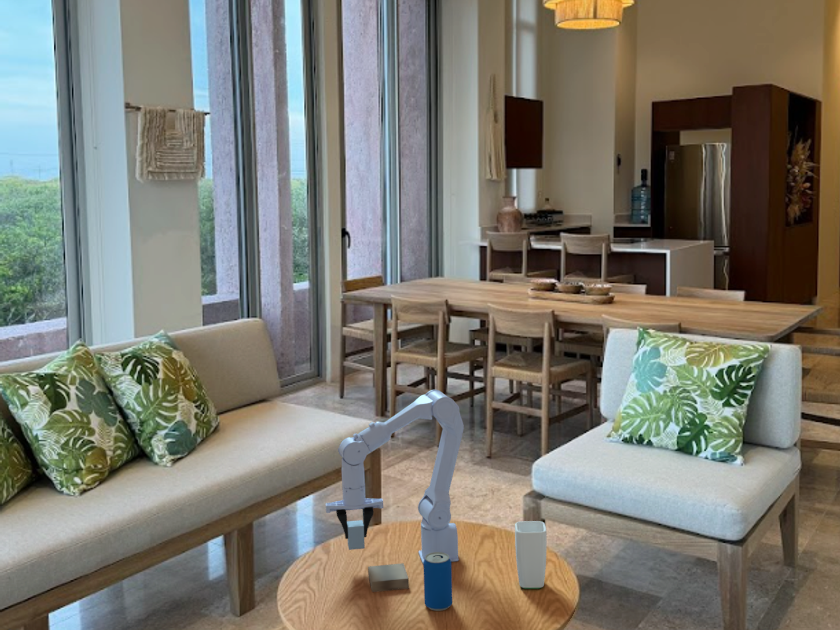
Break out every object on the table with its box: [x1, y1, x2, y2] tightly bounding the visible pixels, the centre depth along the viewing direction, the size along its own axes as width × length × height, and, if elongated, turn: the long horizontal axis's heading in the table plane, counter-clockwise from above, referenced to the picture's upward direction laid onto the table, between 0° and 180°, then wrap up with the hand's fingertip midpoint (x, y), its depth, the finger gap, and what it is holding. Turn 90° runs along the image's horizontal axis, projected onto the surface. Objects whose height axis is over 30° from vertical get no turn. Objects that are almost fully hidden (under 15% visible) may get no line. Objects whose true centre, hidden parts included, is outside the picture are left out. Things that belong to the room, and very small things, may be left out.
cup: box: [514, 520, 547, 590], centre depth 218 cm, size 7×7×15 cm
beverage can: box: [422, 552, 453, 612], centre depth 209 cm, size 6×6×12 cm
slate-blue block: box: [347, 519, 366, 551], centre depth 229 cm, size 4×4×6 cm
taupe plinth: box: [367, 562, 410, 593], centre depth 223 cm, size 9×9×3 cm
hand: (355, 536), depth 229 cm, fingers closed on slate-blue block, 4 cm apart
